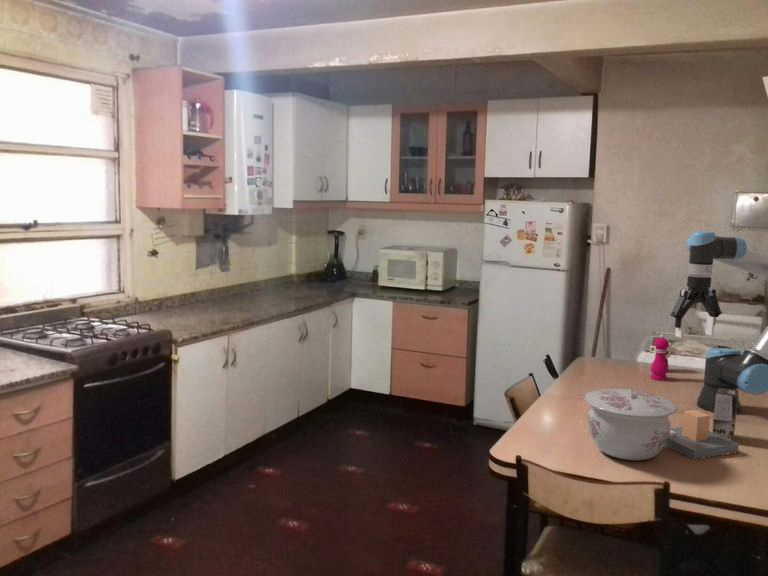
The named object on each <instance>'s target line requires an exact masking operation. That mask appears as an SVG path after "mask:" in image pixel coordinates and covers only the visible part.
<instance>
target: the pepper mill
mask: <svg viewBox="0 0 768 576" xmlns="http://www.w3.org/2000/svg"><path fill="white" fill-rule="evenodd" d="M669 343H670V342H669V340H668V339H666V338H665V335H664V334H660V336H659V337H658V338H656V339H655V340H654V344H653V346H655V347H656V348H655V352H656V356H655V355H654V357H655V358H654V360H653V361H652V364H651V365H650V371H651V375H650V378H651V379H652V380H653V379H654V381H658V380H661V382H663V381H662V380H665V381H666V380H667V374H668V373H669V364H668V365H667V363H666V359H665V357H666V353H667V348H668V346H669Z"/></svg>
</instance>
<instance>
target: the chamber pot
mask: <svg viewBox="0 0 768 576" xmlns="http://www.w3.org/2000/svg"><path fill="white" fill-rule="evenodd" d="M584 401H585V402H586V403H587V404H588V405H589V406H591V407H590V408H589V409H588V415H587V424H588V425H587V426H588V432H589V434H590V436H591V438H592V440H593V442H594V444H595V445H596V447H597V448H598V449H599V450H600V451H601V452H602V453H604V454H606V455H608V456H611V457H613V458H616V459H619V460H625V461H635V462H636V461H646V460H650V459H652V458H654V457H656V455H658V453H660V451H661V450H662V449H663V447H664V446H665V444H666V443H667V440H668V437H669V434H670V429H671V428H672V427H671V426H672V422H671V419H670V417H669V416H671V415H674V414H675V413H676V412H677V411H678V407H677V404H675V403H674V402H673V401H671V399H670V400H669V399H668V398H665V397H663V396H661V395H658V394H655V393H651V392H646V391H642V390H638V389H632V388H602V389H596V390H592V391H589V392H588V393H586V394H585V395H584Z"/></svg>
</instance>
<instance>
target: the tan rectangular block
mask: <svg viewBox="0 0 768 576" xmlns="http://www.w3.org/2000/svg"><path fill="white" fill-rule="evenodd" d="M682 415H683V418H682V425H681V427H682V435H683V436H685V437H688V439H692V440H694V441H701V440H708V433H709V430H710V420H711V415H709V414H707V413H704V412H702V411H700V410H698V409H694V410H693V409H691V410H683V414H682Z"/></svg>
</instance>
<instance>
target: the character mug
mask: <svg viewBox="0 0 768 576" xmlns="http://www.w3.org/2000/svg"><path fill="white" fill-rule="evenodd" d="M655 348H656V347H655V346H654V345H650V346H649V352H650V353H651V354H652V353H653V356H654V357H655V356H656V352H655ZM671 351H672V352H671ZM671 356H676V348H675V347H672V343H670V342H669V346H668V348H667V353H666V357H665V359H666V363H667V365H668V366H669V358H671Z"/></svg>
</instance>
